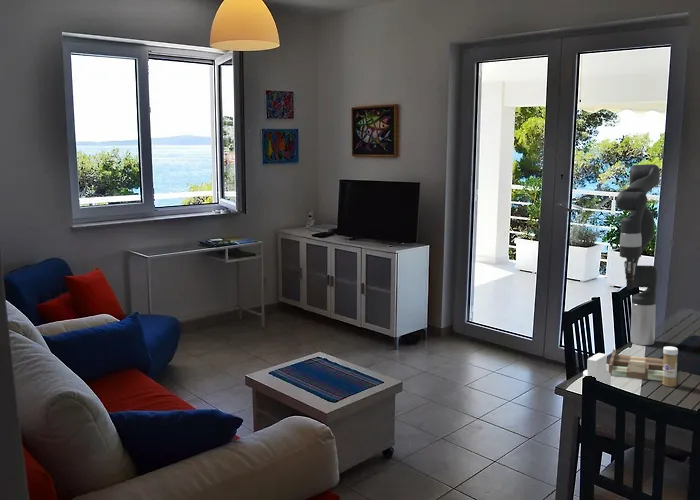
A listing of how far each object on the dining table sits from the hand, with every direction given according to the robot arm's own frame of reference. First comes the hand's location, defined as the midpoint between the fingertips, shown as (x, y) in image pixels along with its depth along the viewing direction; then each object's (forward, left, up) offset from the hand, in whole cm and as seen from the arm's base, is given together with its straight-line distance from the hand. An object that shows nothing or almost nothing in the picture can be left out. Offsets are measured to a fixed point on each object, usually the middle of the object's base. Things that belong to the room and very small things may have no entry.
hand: (629, 289), depth 238 cm
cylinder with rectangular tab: (+34, -8, -29) cm, 46 cm away
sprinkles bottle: (+21, +14, -29) cm, 39 cm away
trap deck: (+8, +4, -29) cm, 30 cm away
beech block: (+14, +4, -27) cm, 31 cm away
